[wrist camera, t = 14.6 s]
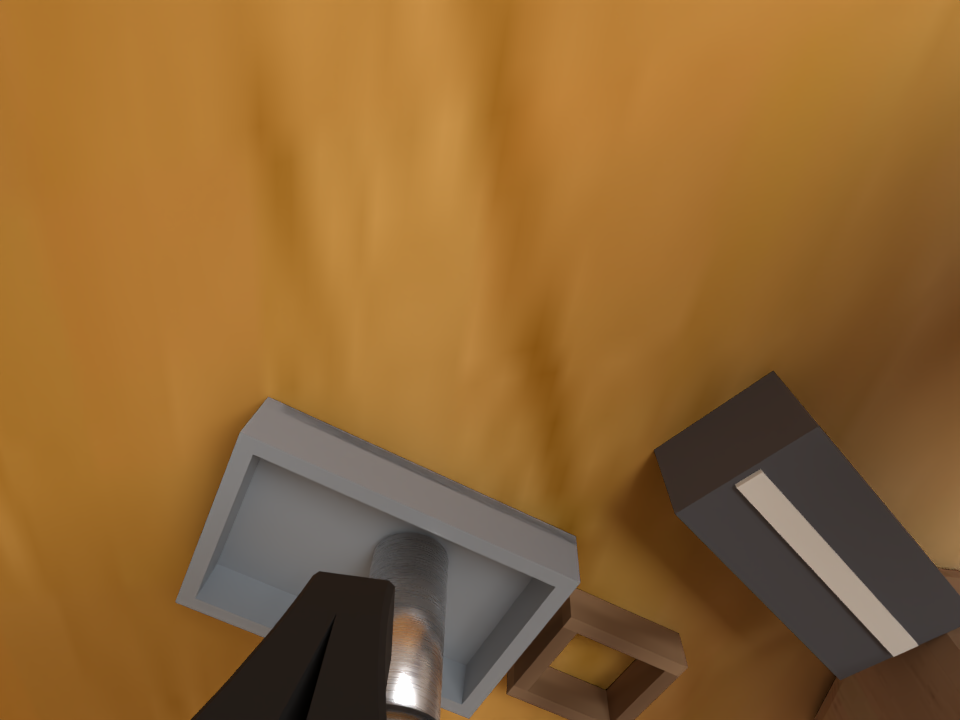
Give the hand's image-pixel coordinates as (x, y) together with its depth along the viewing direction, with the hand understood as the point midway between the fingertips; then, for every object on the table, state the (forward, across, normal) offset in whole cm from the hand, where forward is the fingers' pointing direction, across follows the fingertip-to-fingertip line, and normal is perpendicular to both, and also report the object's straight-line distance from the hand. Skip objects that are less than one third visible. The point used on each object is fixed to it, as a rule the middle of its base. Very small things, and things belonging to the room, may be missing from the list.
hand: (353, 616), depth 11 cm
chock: (+10, -12, +3) cm, 16 cm away
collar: (+10, -7, +12) cm, 17 cm away
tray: (+10, +2, +8) cm, 13 cm away
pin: (+9, 0, +8) cm, 12 cm away
